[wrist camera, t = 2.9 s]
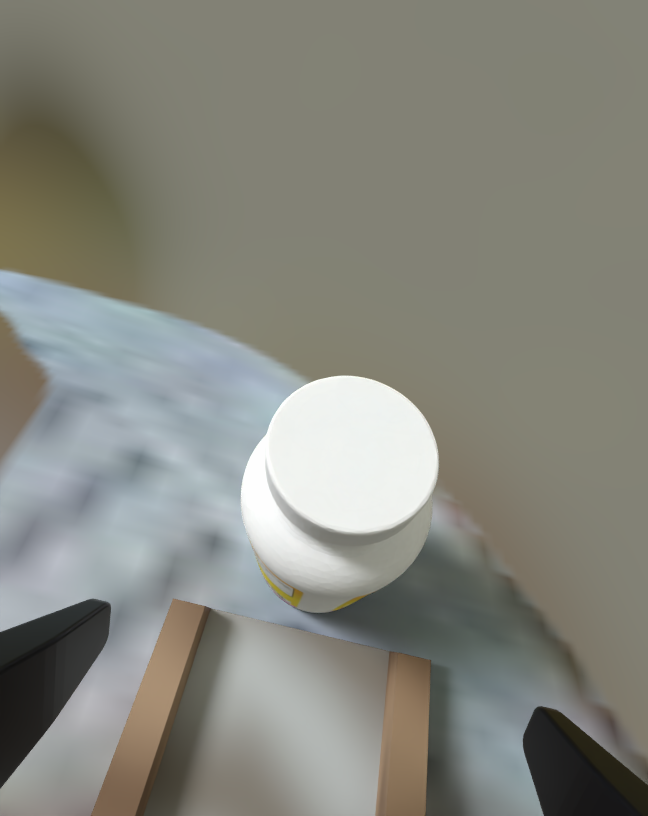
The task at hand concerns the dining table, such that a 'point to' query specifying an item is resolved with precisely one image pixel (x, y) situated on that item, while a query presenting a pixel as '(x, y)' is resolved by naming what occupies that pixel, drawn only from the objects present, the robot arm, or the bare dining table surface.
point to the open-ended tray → (270, 725)
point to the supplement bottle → (339, 492)
